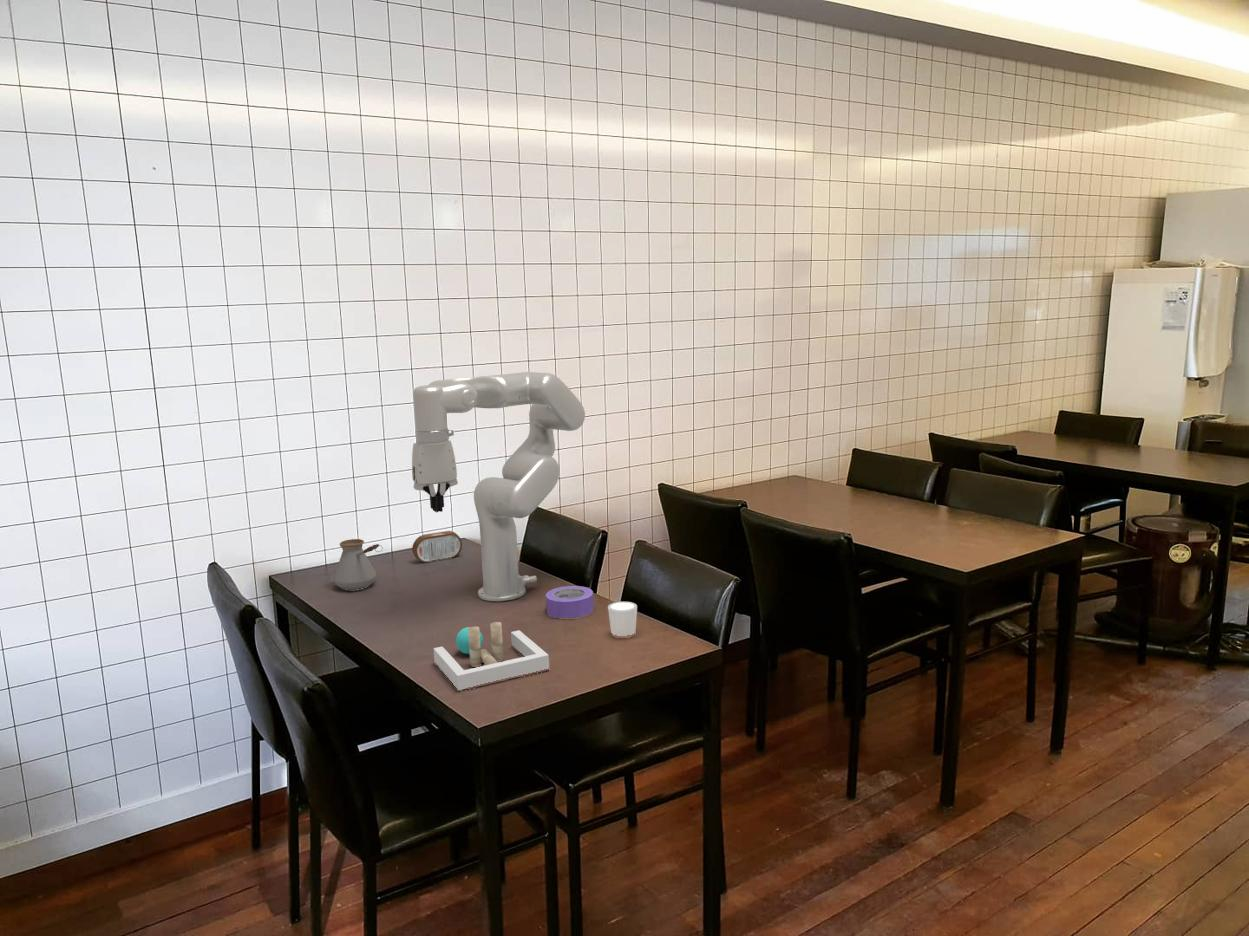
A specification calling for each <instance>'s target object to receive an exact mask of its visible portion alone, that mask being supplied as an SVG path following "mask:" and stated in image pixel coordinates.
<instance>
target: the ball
mask: <svg viewBox="0 0 1249 936" xmlns="http://www.w3.org/2000/svg"><path fill="white" fill-rule="evenodd" d="M469 627H470V626H466V627H464V628H461V630H459V632H458V633H457V634H456V637H455V645H456V648H457V649H458V651H460V652H461V653H463V654H466V655H470V651H469V636H468V628H469ZM483 643H484V637H483V634H482V632H481V631H480V646H481V647H483Z"/></svg>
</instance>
